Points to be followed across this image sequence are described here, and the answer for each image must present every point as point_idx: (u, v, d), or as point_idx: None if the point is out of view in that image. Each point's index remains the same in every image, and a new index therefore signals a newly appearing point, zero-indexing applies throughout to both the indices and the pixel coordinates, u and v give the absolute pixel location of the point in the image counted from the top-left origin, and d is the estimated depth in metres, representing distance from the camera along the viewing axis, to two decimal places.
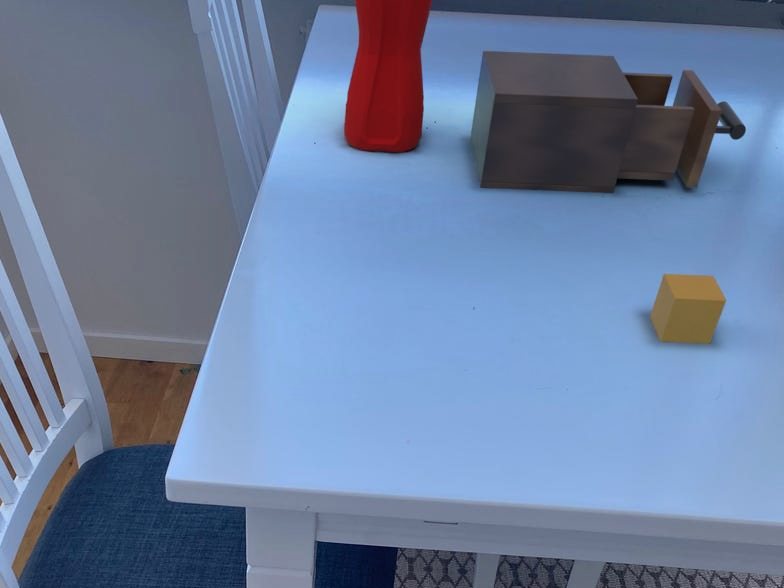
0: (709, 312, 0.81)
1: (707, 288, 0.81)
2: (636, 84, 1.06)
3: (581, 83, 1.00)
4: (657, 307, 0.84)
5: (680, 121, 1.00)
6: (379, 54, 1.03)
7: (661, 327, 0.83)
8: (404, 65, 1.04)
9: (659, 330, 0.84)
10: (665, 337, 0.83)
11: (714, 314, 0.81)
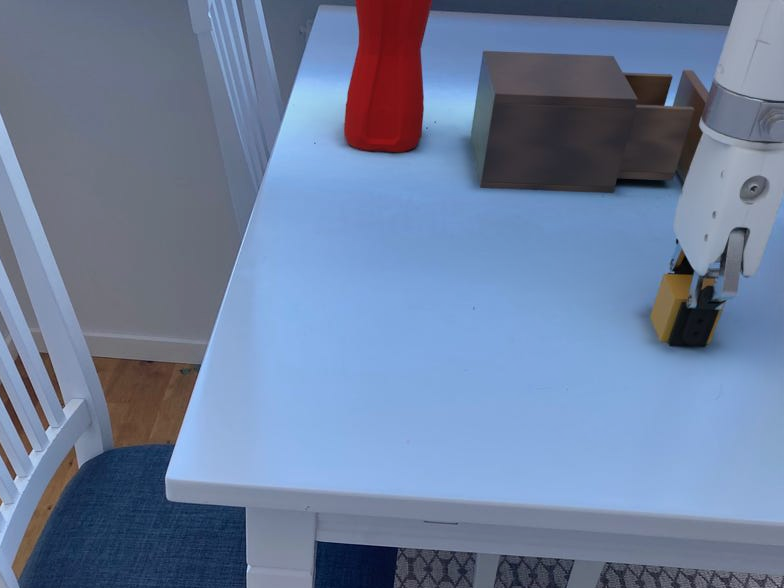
0: None
1: None
2: (636, 84, 1.06)
3: (581, 83, 1.00)
4: (657, 307, 0.84)
5: (680, 121, 1.00)
6: (379, 54, 1.03)
7: (661, 327, 0.83)
8: (404, 65, 1.04)
9: (659, 330, 0.84)
10: (665, 337, 0.83)
11: None
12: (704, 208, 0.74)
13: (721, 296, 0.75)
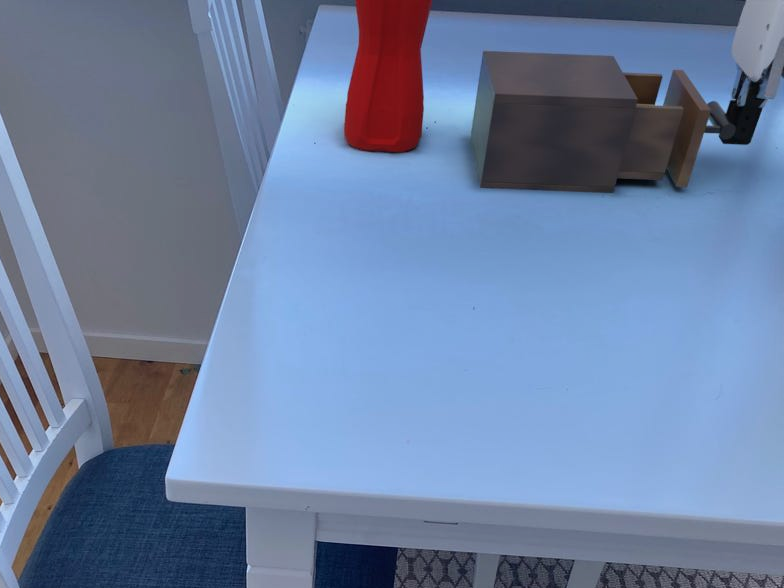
0: None
1: None
2: None
3: (581, 83, 1.00)
4: None
5: (669, 120, 1.00)
6: (379, 54, 1.03)
7: None
8: (404, 65, 1.04)
9: None
10: None
11: None
12: (759, 24, 0.96)
13: (763, 98, 0.98)
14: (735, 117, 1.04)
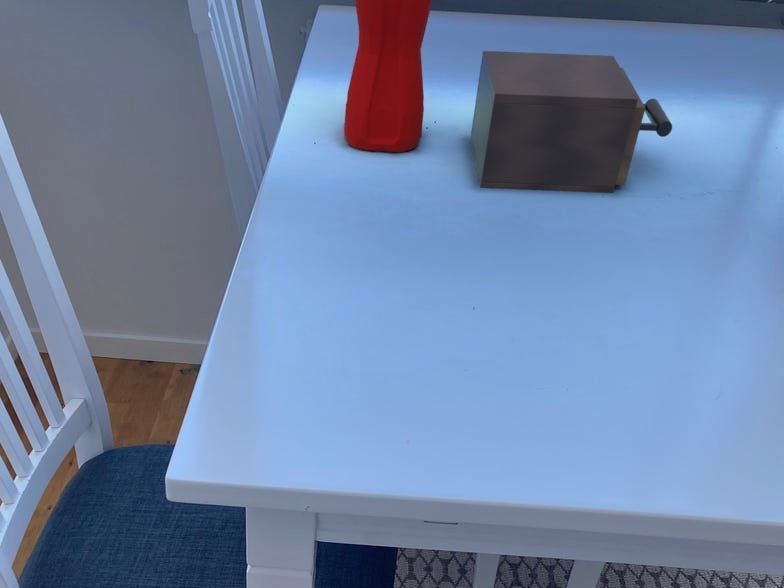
0: None
1: None
2: None
3: (581, 83, 1.00)
4: None
5: None
6: (379, 54, 1.03)
7: None
8: (404, 65, 1.04)
9: None
10: None
11: None
12: None
13: None
14: None
